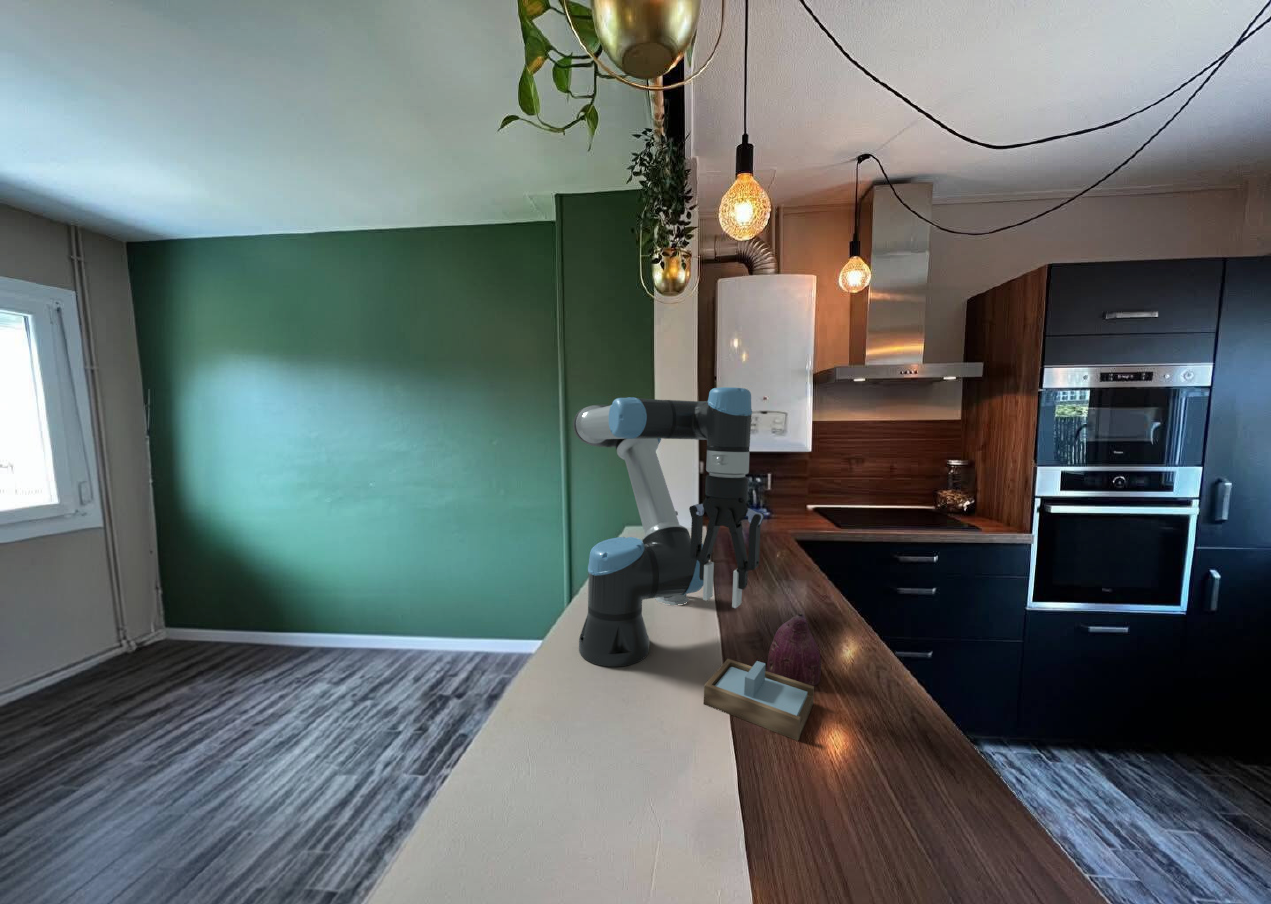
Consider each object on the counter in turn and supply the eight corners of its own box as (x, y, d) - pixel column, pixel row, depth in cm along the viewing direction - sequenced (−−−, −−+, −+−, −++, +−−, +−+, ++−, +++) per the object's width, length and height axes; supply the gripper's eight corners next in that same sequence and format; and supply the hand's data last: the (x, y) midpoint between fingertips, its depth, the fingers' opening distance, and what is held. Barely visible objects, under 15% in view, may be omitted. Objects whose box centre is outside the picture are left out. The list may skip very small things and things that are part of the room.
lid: (713, 691, 79) (714, 669, 78) (730, 670, 86) (731, 650, 86) (795, 722, 71) (796, 698, 71) (807, 696, 78) (808, 674, 78)
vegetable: (822, 705, 84) (842, 641, 79) (765, 690, 86) (782, 627, 81) (814, 664, 94) (832, 605, 89) (763, 652, 96) (778, 593, 91)
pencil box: (703, 704, 78) (704, 685, 78) (727, 675, 88) (727, 658, 87) (798, 741, 70) (799, 720, 70) (813, 705, 79) (814, 686, 79)
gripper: (672, 472, 82) (668, 596, 83) (771, 481, 72) (764, 621, 74) (690, 469, 88) (686, 585, 90) (783, 477, 79) (777, 606, 80)
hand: (721, 601), depth 82 cm, fingers open, 5 cm apart
